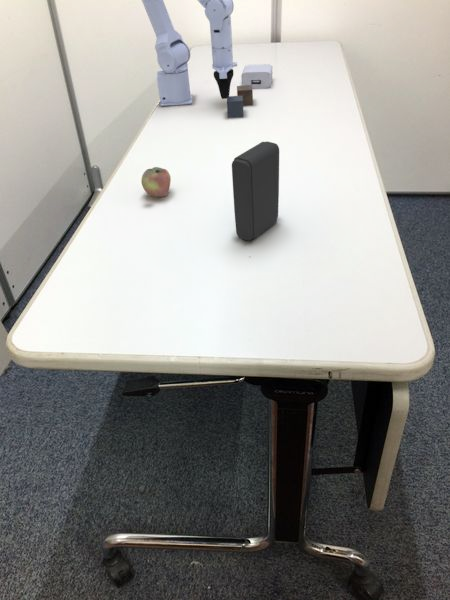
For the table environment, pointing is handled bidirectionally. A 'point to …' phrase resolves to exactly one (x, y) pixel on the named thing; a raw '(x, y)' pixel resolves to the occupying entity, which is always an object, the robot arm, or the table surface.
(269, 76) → the charger
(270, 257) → the table surface
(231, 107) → the slate block
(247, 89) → the walnut block
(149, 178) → the apple
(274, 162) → the dark grey rounded box
